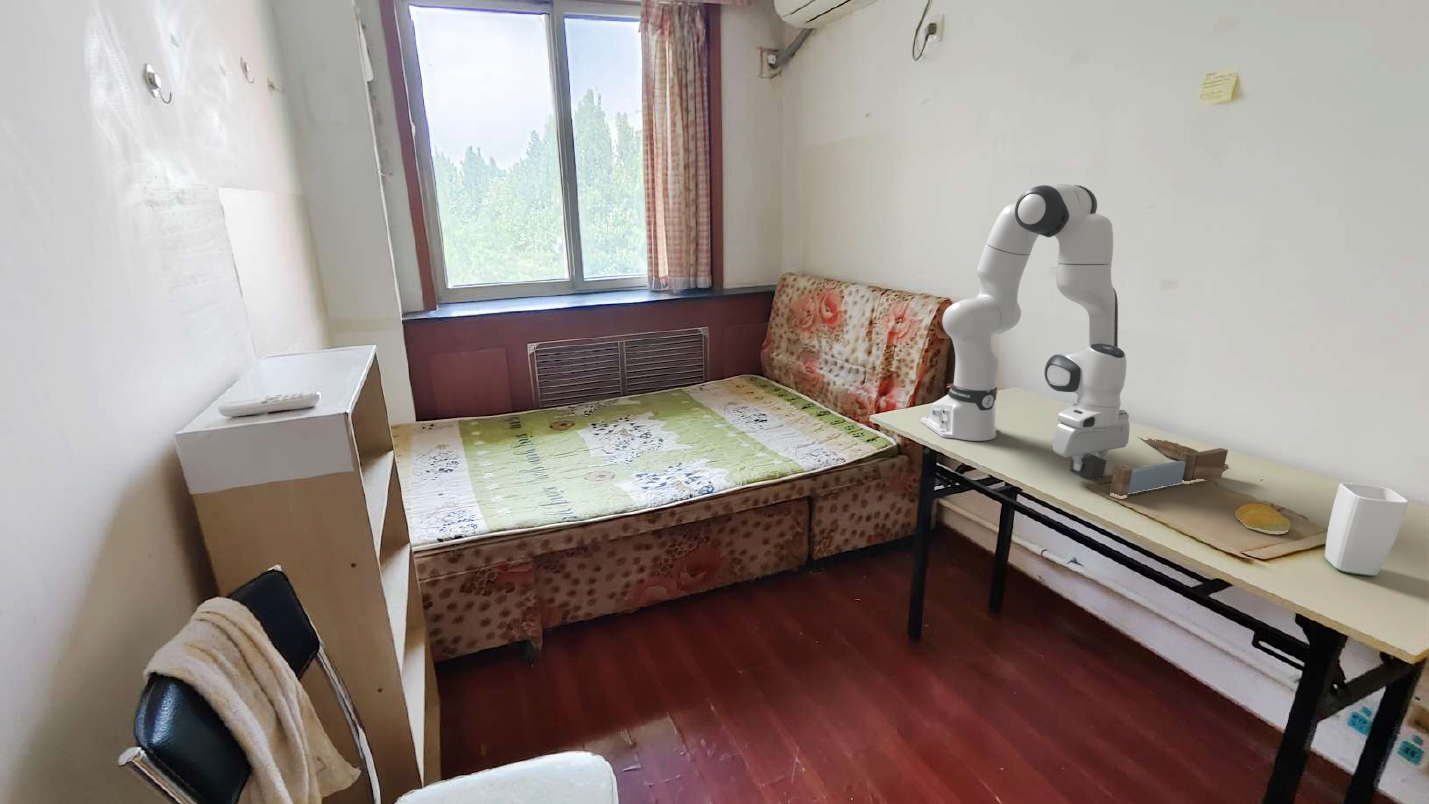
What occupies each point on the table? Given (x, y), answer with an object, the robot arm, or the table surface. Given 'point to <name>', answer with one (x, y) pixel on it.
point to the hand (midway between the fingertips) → (1087, 468)
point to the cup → (1363, 527)
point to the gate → (1156, 476)
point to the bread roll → (1262, 517)
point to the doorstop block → (1090, 467)
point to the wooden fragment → (1173, 449)
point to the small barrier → (1195, 468)
